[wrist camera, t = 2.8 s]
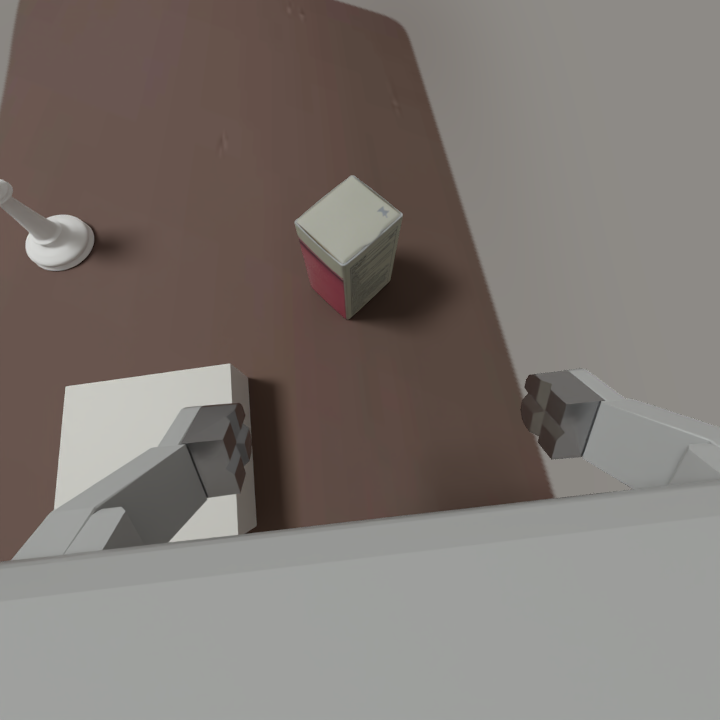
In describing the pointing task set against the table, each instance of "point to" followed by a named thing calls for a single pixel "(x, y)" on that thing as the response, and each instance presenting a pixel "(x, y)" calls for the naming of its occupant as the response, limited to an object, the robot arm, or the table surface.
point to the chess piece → (49, 234)
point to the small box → (349, 245)
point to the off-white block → (150, 436)
